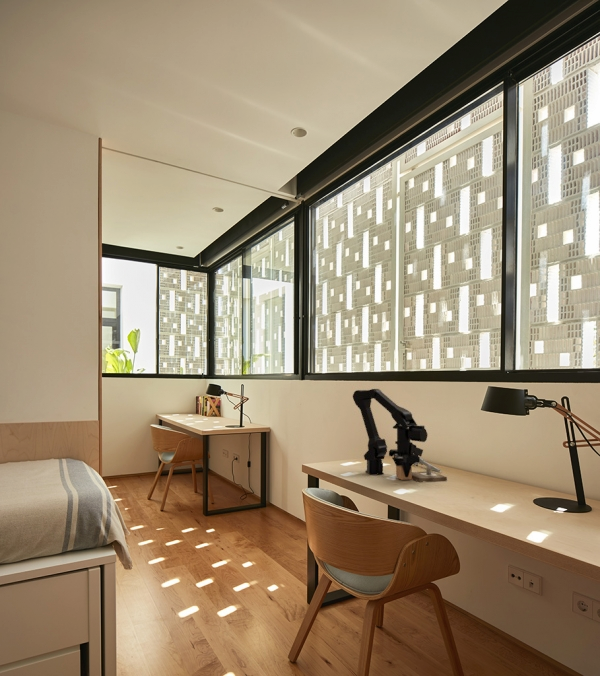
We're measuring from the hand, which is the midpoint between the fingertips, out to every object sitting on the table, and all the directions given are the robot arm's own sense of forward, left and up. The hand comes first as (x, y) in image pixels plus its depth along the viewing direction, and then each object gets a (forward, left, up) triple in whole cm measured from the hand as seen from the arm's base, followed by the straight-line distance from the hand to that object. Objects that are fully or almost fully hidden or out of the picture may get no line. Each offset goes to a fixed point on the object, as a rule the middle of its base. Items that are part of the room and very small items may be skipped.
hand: (403, 475), depth 201 cm
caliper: (+22, +20, -2) cm, 30 cm away
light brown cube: (0, 0, -1) cm, 1 cm away
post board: (+11, 0, -1) cm, 11 cm away
